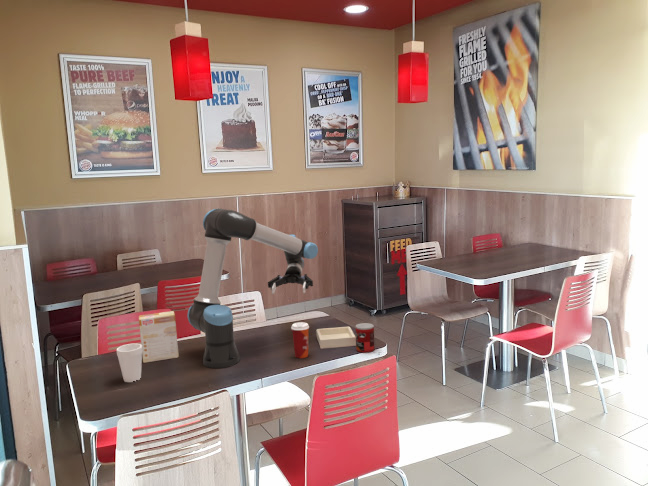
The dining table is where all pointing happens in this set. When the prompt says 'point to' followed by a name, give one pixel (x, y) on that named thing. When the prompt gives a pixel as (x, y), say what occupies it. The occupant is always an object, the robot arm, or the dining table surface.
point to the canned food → (364, 337)
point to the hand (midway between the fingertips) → (288, 290)
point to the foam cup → (130, 361)
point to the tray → (335, 337)
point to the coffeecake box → (158, 336)
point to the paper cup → (300, 339)
